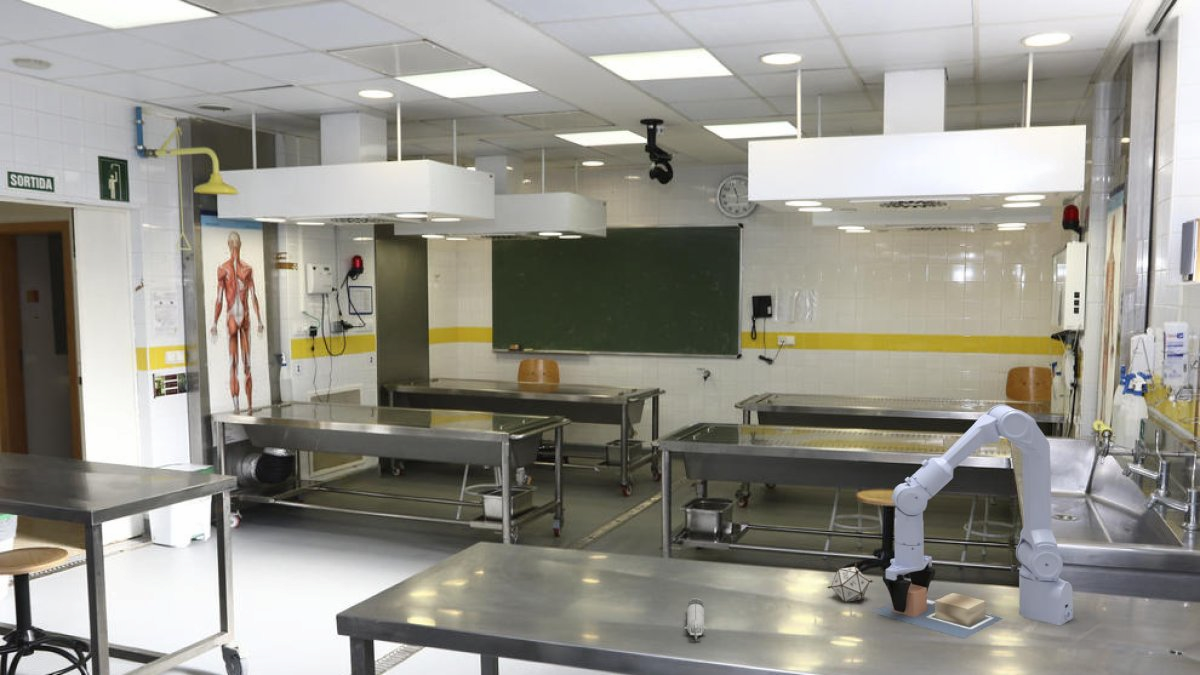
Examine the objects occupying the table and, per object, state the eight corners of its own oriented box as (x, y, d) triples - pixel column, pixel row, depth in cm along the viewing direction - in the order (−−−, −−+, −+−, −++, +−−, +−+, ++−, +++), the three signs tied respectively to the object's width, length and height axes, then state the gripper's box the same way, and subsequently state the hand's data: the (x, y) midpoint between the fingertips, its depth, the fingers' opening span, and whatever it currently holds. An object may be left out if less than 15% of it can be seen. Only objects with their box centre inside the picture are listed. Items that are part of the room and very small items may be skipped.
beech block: (985, 617, 184) (985, 600, 184) (968, 626, 179) (968, 609, 179) (952, 609, 189) (952, 592, 189) (935, 617, 185) (935, 600, 184)
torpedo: (684, 612, 194) (683, 582, 193) (706, 612, 193) (705, 582, 193) (684, 644, 176) (683, 611, 176) (708, 644, 175) (708, 611, 175)
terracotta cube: (926, 611, 188) (926, 587, 188) (913, 617, 185) (913, 593, 185) (905, 605, 192) (905, 582, 192) (892, 611, 189) (891, 587, 189)
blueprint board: (1003, 621, 184) (1003, 617, 184) (963, 642, 173) (963, 637, 173) (913, 598, 199) (913, 594, 199) (872, 615, 188) (872, 611, 188)
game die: (858, 621, 196) (875, 593, 190) (820, 605, 197) (836, 577, 191) (863, 590, 203) (879, 562, 197) (826, 575, 204) (841, 547, 198)
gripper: (910, 532, 196) (910, 594, 196) (872, 544, 186) (872, 609, 187) (940, 538, 190) (941, 601, 191) (903, 551, 181) (903, 618, 181)
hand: (909, 606), depth 188 cm, fingers open, 7 cm apart
